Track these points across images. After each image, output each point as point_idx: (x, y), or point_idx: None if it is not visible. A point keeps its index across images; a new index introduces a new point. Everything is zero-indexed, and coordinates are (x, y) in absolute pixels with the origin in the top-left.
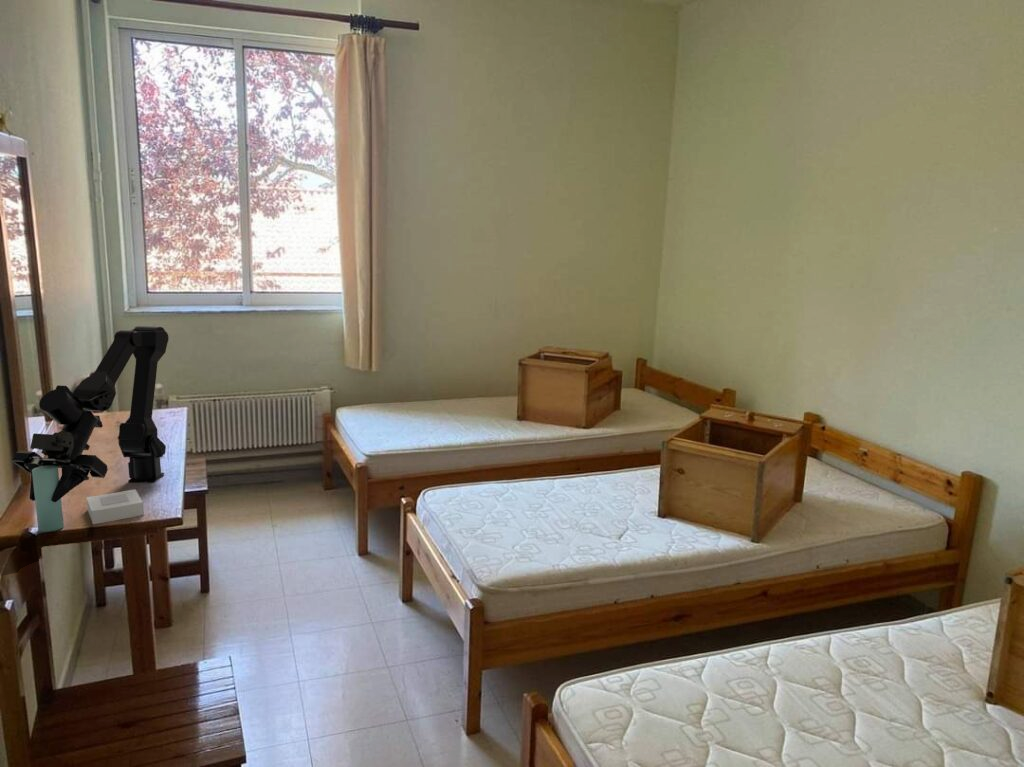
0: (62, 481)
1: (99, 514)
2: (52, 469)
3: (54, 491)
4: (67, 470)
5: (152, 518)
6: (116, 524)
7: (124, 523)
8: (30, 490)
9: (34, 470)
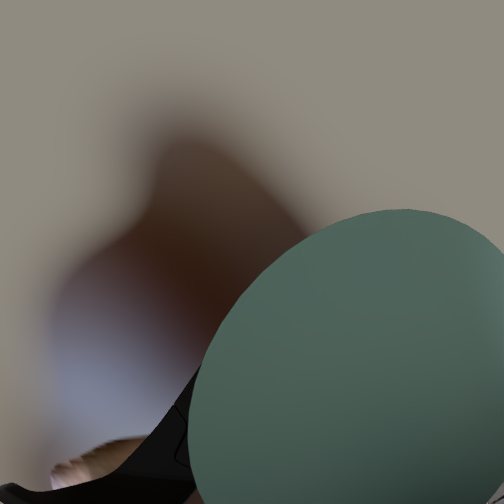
0: (173, 430)
1: None
2: (233, 451)
3: None
4: (78, 495)
5: None
6: (121, 447)
7: (107, 455)
8: None
9: (479, 263)
